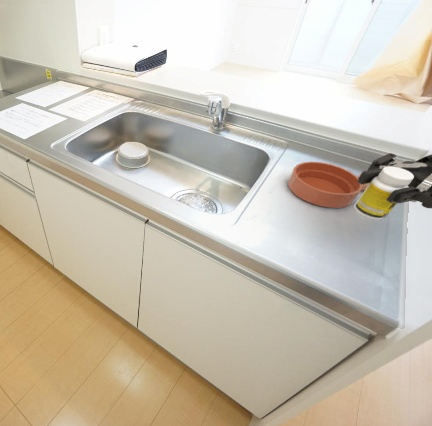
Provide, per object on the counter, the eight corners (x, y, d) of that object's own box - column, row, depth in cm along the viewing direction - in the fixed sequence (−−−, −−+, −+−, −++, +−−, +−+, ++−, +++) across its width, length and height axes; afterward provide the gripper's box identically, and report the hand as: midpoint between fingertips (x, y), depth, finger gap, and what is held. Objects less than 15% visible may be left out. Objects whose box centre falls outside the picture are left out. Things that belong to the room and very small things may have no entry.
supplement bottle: (384, 224, 48) (417, 184, 43) (352, 213, 51) (379, 175, 45) (385, 209, 51) (416, 170, 46) (354, 200, 54) (380, 162, 48)
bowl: (360, 190, 75) (369, 176, 72) (342, 217, 67) (352, 203, 64) (299, 169, 83) (306, 156, 80) (277, 191, 75) (284, 177, 72)
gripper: (427, 134, 52) (350, 147, 49) (530, 175, 41) (439, 194, 39) (401, 168, 57) (330, 182, 54) (487, 213, 46) (404, 232, 44)
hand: (376, 187), depth 47 cm, fingers closed on supplement bottle, 4 cm apart
